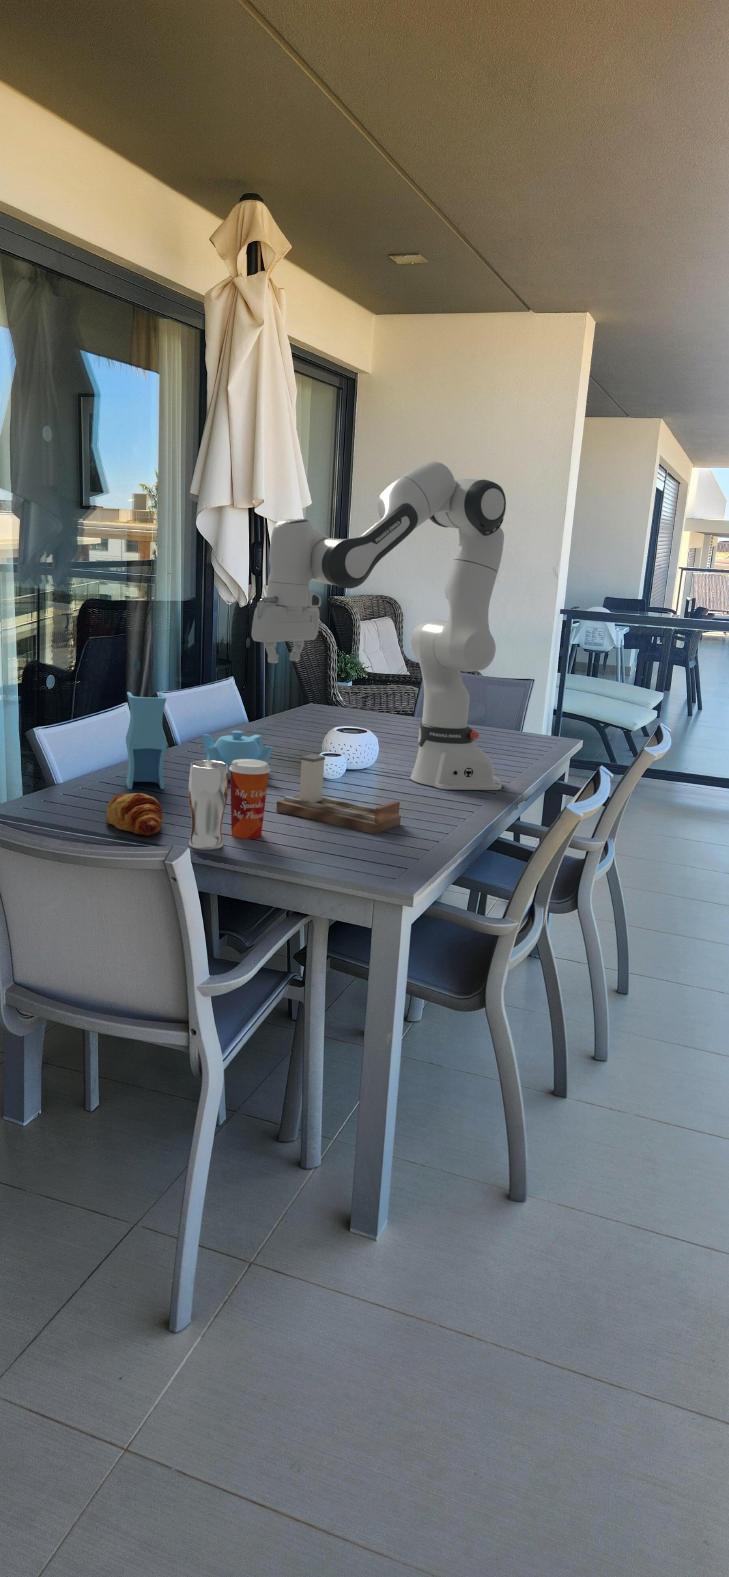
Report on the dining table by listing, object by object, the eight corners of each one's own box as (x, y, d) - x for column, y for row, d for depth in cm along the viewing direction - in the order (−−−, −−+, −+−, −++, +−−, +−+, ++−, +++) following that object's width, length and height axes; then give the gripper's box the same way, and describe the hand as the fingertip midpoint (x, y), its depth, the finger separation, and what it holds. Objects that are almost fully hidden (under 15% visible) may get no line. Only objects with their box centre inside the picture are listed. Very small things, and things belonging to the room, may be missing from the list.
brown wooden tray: (276, 810, 207) (277, 787, 206) (303, 802, 215) (304, 780, 214) (375, 834, 195) (377, 809, 194) (400, 824, 204) (402, 801, 202)
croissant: (102, 829, 197) (83, 796, 193) (145, 803, 200) (128, 769, 197) (140, 858, 179) (120, 822, 176) (187, 828, 183) (168, 792, 180)
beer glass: (217, 852, 176) (221, 770, 172) (180, 847, 177) (183, 765, 174) (230, 842, 182) (234, 762, 179) (194, 837, 184) (197, 758, 180)
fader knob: (298, 800, 207) (301, 756, 205) (309, 797, 211) (312, 754, 208) (311, 803, 205) (314, 759, 203) (322, 800, 209) (325, 756, 207)
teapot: (272, 784, 230) (275, 738, 228) (207, 783, 226) (209, 736, 224) (262, 769, 244) (264, 726, 242) (200, 768, 240) (202, 724, 238)
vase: (160, 780, 225) (163, 692, 220) (165, 789, 218) (167, 698, 213) (124, 780, 222) (126, 691, 218) (128, 789, 215) (130, 697, 210)
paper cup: (232, 841, 183) (235, 767, 180) (221, 830, 190) (224, 758, 187) (272, 839, 186) (276, 766, 183) (260, 828, 193) (264, 758, 190)
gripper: (271, 598, 201) (267, 666, 204) (325, 598, 219) (321, 661, 222) (246, 595, 204) (242, 662, 207) (302, 595, 222) (298, 657, 225)
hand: (283, 661), depth 215 cm, fingers open, 7 cm apart
